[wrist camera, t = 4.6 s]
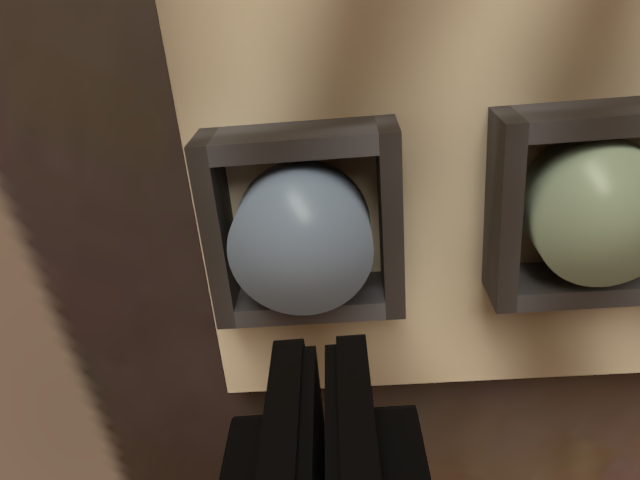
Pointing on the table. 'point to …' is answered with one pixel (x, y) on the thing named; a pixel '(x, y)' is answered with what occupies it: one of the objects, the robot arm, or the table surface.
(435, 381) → the button panel
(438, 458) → the table surface
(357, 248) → the slate button
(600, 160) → the sage button
